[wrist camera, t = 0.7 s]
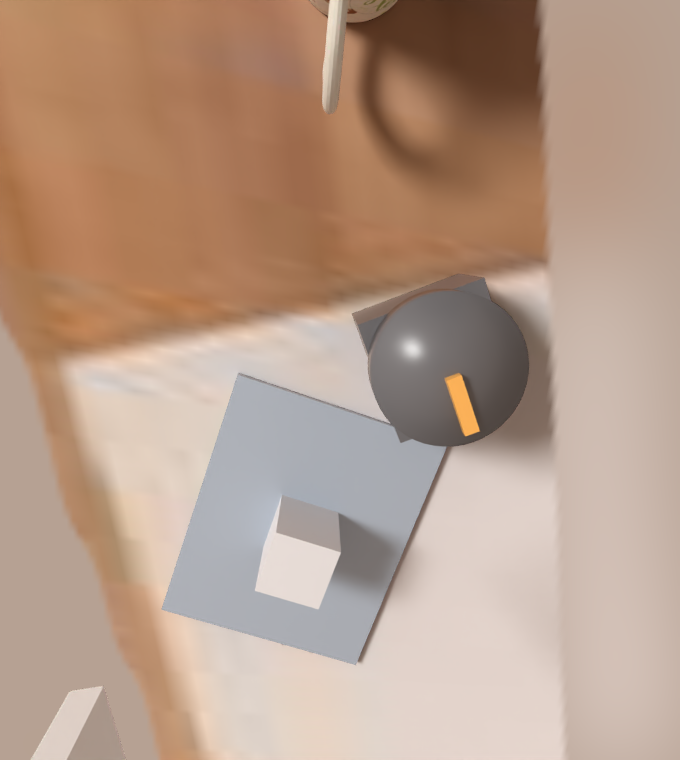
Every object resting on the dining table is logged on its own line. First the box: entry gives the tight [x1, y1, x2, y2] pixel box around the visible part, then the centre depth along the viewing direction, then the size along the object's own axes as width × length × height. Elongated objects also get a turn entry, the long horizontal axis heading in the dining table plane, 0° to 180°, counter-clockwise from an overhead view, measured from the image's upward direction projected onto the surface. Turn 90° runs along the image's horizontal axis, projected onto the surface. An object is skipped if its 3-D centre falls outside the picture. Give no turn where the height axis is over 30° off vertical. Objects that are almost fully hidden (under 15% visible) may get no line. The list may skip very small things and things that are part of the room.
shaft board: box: [162, 373, 447, 665], centre depth 32 cm, size 16×13×5 cm
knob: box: [352, 274, 529, 447], centre depth 28 cm, size 7×7×8 cm
